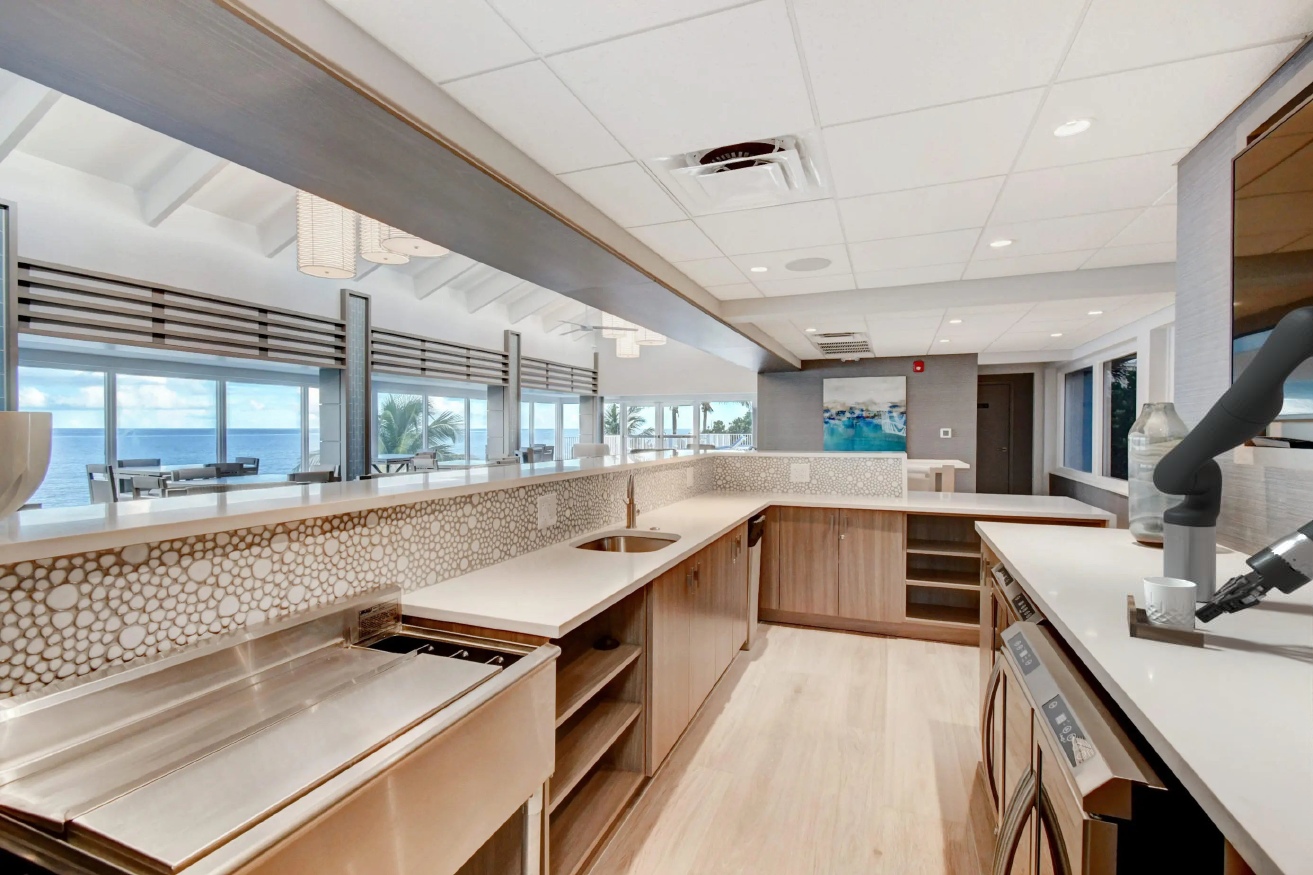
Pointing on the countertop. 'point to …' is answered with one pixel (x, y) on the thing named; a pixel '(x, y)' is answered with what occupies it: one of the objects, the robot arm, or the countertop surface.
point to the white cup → (1170, 602)
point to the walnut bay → (1158, 629)
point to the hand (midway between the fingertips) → (1198, 618)
